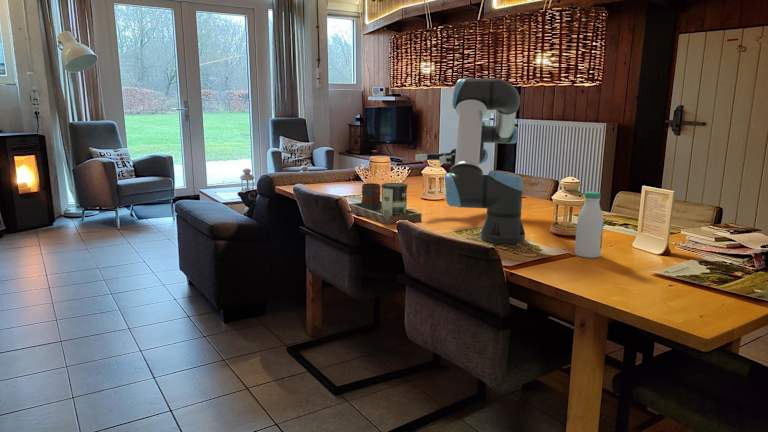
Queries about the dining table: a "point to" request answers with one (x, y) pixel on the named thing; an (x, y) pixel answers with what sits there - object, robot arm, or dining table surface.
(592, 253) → the milk bottle
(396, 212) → the coffee can
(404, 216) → the caddy
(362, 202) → the mug
